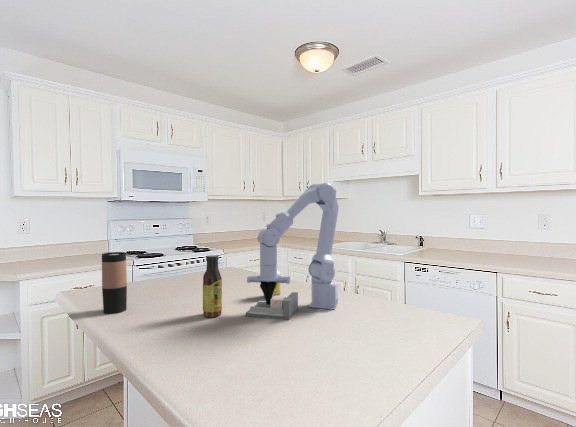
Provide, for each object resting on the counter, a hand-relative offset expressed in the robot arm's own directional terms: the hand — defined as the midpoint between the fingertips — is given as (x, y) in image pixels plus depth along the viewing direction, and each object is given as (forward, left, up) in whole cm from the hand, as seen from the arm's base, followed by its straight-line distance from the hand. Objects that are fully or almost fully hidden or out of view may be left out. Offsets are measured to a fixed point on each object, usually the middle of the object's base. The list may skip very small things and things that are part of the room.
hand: (268, 303), depth 116 cm
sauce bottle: (+17, +7, -3) cm, 19 cm away
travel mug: (+52, +12, -3) cm, 54 cm away
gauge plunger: (-4, +1, -2) cm, 4 cm away
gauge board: (-1, 0, -3) cm, 3 cm away
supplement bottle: (+5, -19, -3) cm, 19 cm away
